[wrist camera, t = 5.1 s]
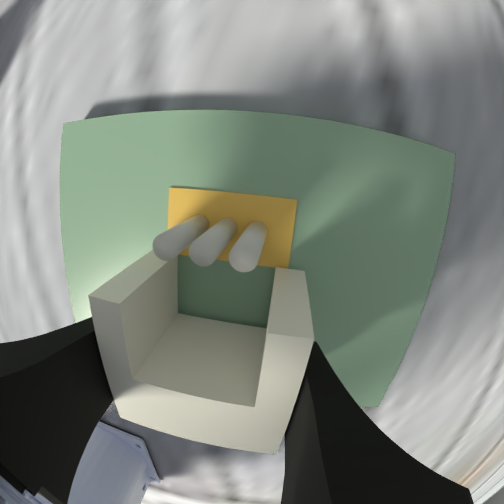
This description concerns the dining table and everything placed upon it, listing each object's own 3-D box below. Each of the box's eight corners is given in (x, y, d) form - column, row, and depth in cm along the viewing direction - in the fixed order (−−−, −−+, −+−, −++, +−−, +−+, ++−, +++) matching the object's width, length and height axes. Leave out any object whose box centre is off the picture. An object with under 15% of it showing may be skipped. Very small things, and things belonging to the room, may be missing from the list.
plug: (281, 378, 11) (276, 454, 7) (159, 355, 11) (120, 417, 8) (304, 270, 9) (314, 338, 6) (153, 249, 10) (88, 295, 6)
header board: (373, 391, 12) (389, 452, 8) (94, 342, 14) (53, 383, 10) (440, 154, 9) (506, 153, 5) (79, 125, 10) (14, 120, 6)
